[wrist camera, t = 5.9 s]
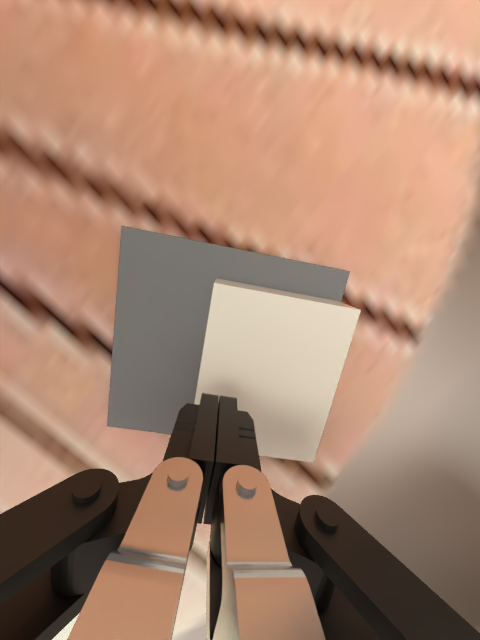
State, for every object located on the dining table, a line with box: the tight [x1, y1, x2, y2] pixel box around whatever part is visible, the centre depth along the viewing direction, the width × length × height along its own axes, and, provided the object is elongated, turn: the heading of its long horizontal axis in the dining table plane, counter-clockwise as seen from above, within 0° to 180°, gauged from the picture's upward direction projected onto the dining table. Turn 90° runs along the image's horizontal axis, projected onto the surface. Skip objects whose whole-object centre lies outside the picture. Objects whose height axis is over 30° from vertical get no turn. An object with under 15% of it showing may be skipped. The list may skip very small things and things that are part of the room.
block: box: [194, 278, 361, 462], centre depth 16 cm, size 3×10×8 cm
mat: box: [107, 226, 350, 434], centre depth 17 cm, size 14×14×1 cm
